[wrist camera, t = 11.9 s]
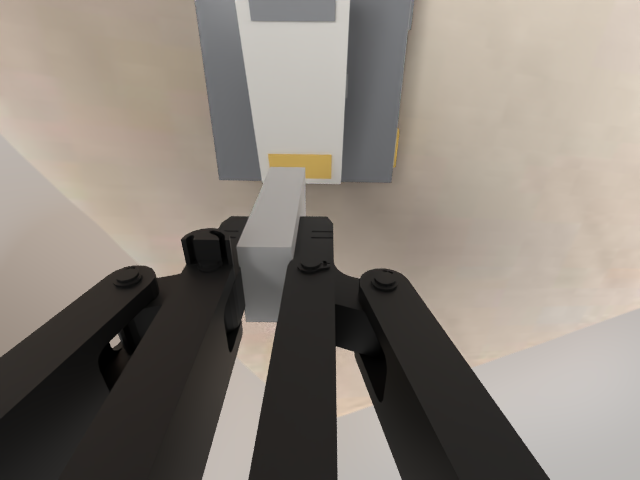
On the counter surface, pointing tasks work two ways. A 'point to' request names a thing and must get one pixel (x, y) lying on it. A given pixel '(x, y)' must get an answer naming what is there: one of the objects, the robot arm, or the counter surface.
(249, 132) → the switch unit
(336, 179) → the rocker
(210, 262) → the robot arm
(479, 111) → the counter surface
